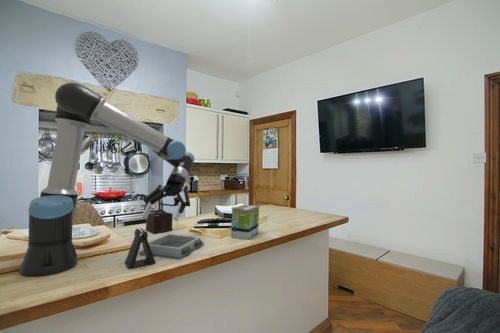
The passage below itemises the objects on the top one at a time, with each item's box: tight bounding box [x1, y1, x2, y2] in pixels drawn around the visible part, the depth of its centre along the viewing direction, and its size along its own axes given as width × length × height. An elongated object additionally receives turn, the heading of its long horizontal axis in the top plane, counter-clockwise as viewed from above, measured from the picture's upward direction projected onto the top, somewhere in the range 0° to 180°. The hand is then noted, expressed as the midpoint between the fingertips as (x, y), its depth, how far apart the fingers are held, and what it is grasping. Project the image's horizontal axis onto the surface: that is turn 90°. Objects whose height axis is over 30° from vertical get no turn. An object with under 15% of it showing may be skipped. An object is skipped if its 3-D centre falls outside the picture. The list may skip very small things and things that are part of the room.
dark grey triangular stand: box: [124, 227, 157, 270], centre depth 91 cm, size 9×6×12 cm, turn 126°
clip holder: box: [138, 233, 204, 260], centre depth 107 cm, size 19×20×4 cm
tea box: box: [230, 204, 260, 240], centre depth 133 cm, size 15×10×15 cm, turn 161°
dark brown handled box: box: [145, 196, 181, 235], centre depth 140 cm, size 16×11×18 cm
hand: (159, 218), depth 102 cm, fingers open, 13 cm apart
